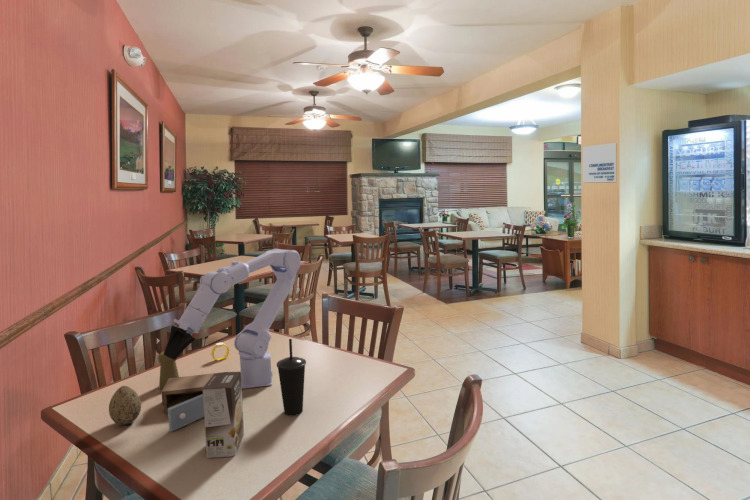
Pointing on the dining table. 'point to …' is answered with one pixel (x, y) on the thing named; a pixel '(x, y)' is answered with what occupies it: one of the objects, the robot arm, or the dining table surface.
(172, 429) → the cabinet door
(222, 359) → the watch
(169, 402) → the cabinet
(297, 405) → the drinking cup
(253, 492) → the dining table surface
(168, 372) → the cork
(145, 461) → the dining table surface
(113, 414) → the decorative egg
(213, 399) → the coffee box
